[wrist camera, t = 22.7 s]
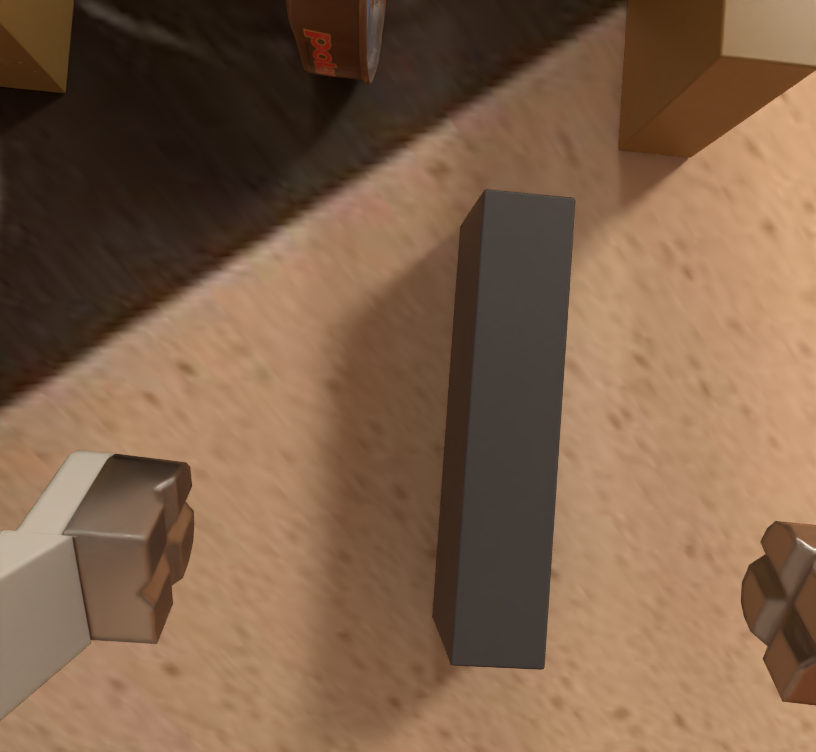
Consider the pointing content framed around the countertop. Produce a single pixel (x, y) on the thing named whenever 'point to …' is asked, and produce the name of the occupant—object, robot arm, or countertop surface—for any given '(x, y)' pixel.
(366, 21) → the tin
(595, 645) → the countertop surface
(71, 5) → the tan cardboard-coloured block
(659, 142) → the khaki rectangular brick
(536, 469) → the grey rectangular block
